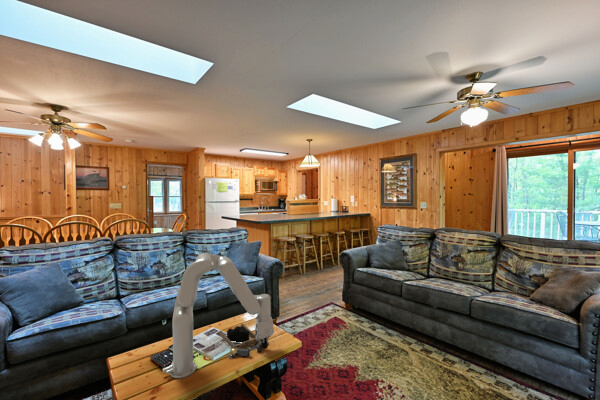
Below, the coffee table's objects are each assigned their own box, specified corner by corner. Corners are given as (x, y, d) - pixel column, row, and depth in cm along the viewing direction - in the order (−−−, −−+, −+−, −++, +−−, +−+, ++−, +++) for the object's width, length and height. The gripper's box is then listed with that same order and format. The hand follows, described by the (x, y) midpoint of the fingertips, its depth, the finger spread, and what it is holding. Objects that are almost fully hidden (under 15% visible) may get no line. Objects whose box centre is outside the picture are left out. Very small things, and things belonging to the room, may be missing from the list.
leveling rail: (229, 359, 144) (229, 358, 144) (227, 356, 147) (227, 354, 147) (269, 343, 159) (269, 342, 159) (266, 340, 162) (266, 339, 162)
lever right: (259, 340, 161) (259, 335, 161) (266, 341, 161) (266, 335, 161) (254, 351, 150) (254, 345, 150) (261, 352, 149) (261, 346, 149)
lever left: (228, 356, 146) (228, 349, 146) (232, 351, 150) (232, 345, 150) (248, 358, 144) (248, 351, 144) (251, 353, 148) (251, 347, 148)
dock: (233, 351, 151) (233, 346, 150) (219, 335, 168) (219, 330, 168) (258, 342, 160) (258, 337, 160) (242, 327, 178) (242, 323, 178)
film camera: (253, 336, 167) (253, 322, 167) (247, 345, 157) (247, 330, 157) (231, 334, 170) (231, 320, 170) (224, 342, 160) (224, 328, 160)
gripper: (255, 322, 144) (256, 355, 145) (278, 315, 153) (278, 346, 154) (249, 317, 150) (249, 349, 151) (271, 310, 159) (272, 340, 160)
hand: (264, 347), depth 152 cm, fingers closed
